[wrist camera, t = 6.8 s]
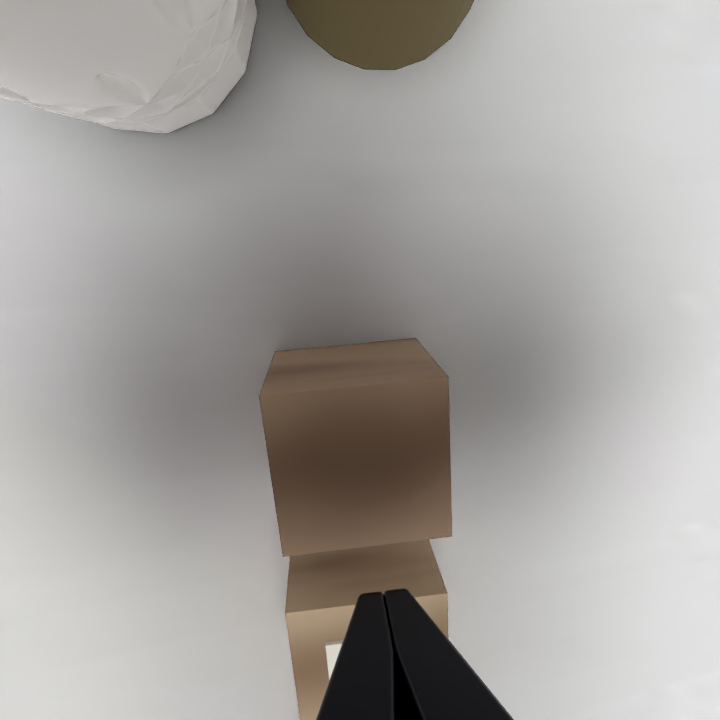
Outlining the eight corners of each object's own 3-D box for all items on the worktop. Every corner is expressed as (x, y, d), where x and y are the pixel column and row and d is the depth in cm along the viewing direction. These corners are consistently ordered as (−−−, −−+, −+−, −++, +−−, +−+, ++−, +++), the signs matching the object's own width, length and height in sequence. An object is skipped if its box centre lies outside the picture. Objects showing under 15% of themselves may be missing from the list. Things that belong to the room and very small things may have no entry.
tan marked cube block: (424, 607, 20) (454, 715, 16) (305, 622, 20) (301, 737, 15) (421, 507, 19) (453, 595, 14) (292, 521, 18) (285, 616, 14)
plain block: (420, 461, 18) (452, 536, 14) (291, 475, 18) (282, 556, 13) (415, 337, 17) (448, 377, 12) (275, 350, 16) (258, 396, 12)
